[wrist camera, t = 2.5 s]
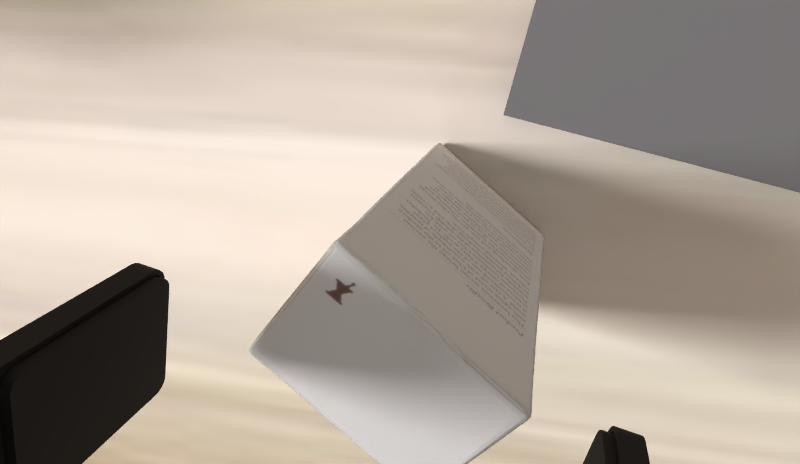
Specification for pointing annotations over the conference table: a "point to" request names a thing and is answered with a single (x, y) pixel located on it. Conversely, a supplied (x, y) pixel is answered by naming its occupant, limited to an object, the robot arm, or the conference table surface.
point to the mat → (670, 80)
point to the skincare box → (418, 321)
